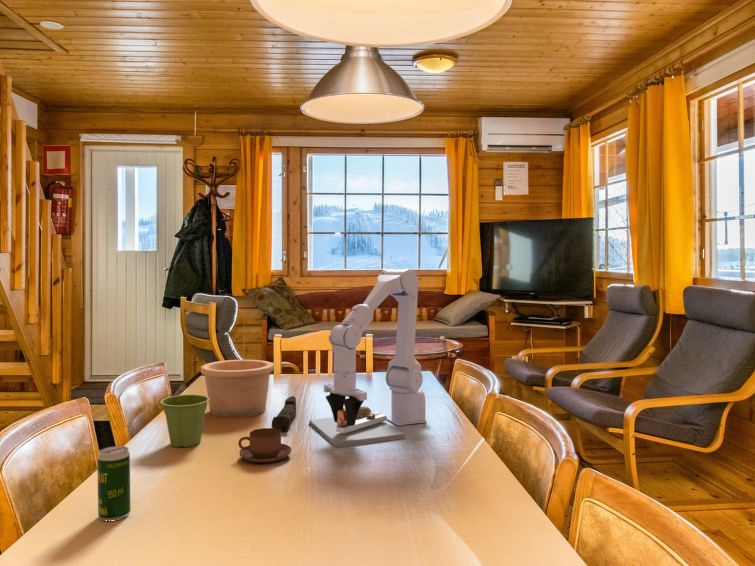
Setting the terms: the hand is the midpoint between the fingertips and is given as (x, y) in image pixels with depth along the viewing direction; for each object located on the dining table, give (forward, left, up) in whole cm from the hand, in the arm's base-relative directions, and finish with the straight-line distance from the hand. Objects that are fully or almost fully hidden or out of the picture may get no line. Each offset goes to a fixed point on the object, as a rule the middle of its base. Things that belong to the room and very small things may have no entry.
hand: (344, 423), depth 153 cm
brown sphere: (-11, -12, -3) cm, 16 cm away
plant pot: (+38, -13, -4) cm, 41 cm away
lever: (-6, -5, -2) cm, 8 cm away
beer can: (+54, +27, -4) cm, 61 cm away
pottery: (+20, -41, -4) cm, 45 cm away
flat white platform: (-5, -6, -4) cm, 9 cm away
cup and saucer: (+22, +6, -5) cm, 23 cm away
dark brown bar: (+10, -23, -5) cm, 25 cm away
